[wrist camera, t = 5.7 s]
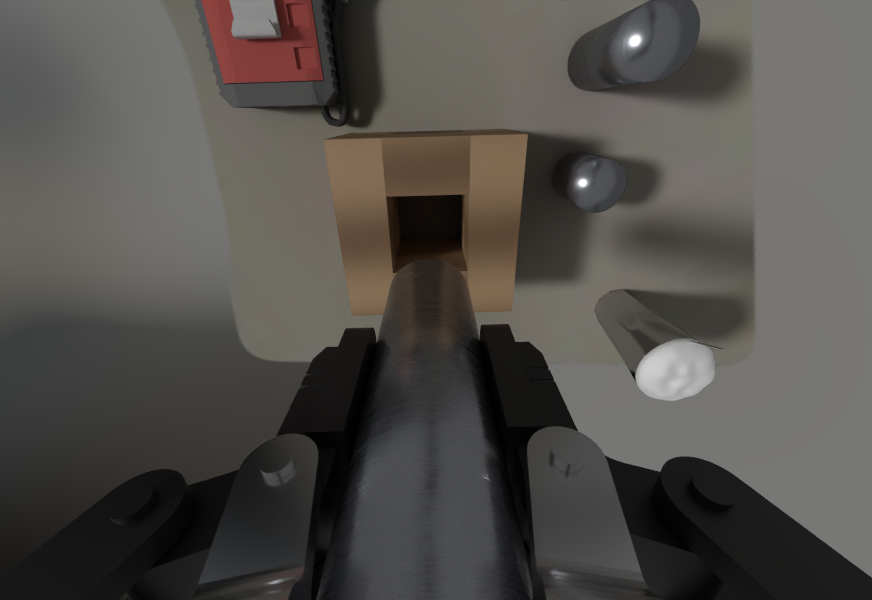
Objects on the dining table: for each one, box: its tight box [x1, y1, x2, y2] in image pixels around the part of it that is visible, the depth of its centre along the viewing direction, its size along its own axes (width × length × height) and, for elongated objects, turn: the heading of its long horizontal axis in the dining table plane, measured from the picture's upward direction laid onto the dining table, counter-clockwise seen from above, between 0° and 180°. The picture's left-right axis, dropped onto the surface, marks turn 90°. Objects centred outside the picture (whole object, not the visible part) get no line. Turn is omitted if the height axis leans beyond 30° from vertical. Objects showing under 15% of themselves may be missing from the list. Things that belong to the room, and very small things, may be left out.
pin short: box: [553, 152, 627, 213], centre depth 22 cm, size 3×3×4 cm
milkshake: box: [594, 290, 728, 401], centre depth 24 cm, size 5×5×10 cm
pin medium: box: [568, 0, 700, 91], centre depth 18 cm, size 3×3×7 cm
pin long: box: [316, 259, 532, 600], centre depth 8 cm, size 3×3×12 cm
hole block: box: [324, 129, 528, 316], centre depth 22 cm, size 10×10×6 cm
